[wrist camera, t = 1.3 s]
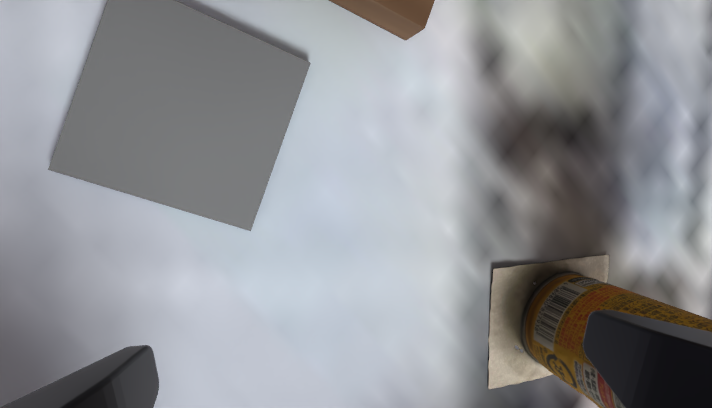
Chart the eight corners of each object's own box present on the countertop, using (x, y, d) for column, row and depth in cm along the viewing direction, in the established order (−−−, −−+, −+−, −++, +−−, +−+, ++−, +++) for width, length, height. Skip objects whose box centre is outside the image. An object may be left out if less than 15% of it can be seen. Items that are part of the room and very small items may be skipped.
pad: (250, 229, 18) (250, 231, 18) (52, 169, 16) (48, 169, 16) (308, 64, 18) (310, 62, 18) (119, -23, 16) (117, -27, 15)
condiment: (598, 363, 26) (883, 524, 15) (486, 387, 24) (724, 604, 12) (605, 253, 25) (915, 335, 14) (489, 267, 23) (750, 379, 11)
